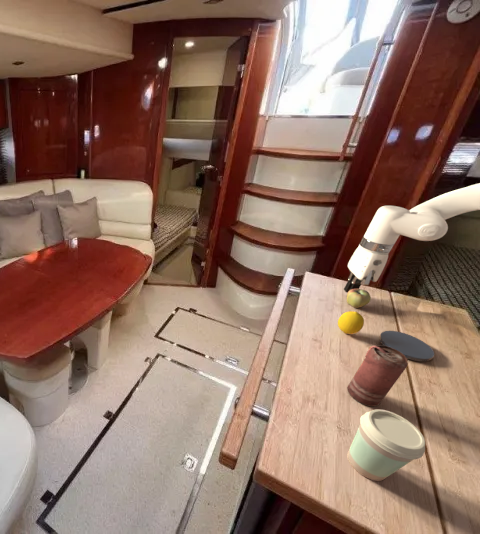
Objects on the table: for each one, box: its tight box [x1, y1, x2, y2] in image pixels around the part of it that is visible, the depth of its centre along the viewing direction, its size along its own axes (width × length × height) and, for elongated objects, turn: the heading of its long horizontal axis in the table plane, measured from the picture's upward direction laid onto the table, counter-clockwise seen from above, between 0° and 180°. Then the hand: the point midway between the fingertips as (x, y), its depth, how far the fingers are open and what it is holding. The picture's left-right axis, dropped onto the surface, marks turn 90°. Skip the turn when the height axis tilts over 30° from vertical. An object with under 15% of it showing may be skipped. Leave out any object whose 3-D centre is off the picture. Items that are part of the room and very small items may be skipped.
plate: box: [378, 330, 435, 362], centre depth 85 cm, size 11×11×2 cm
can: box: [346, 344, 409, 407], centre depth 69 cm, size 6×6×14 cm
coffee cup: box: [346, 408, 426, 482], centre depth 57 cm, size 8×8×12 cm
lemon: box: [337, 310, 365, 335], centre depth 89 cm, size 6×6×8 cm
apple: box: [346, 288, 372, 309], centre depth 102 cm, size 6×8×6 cm
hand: (349, 291), depth 106 cm, fingers closed
